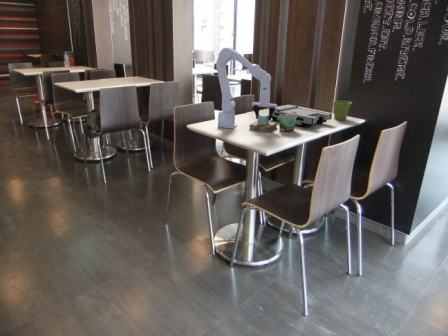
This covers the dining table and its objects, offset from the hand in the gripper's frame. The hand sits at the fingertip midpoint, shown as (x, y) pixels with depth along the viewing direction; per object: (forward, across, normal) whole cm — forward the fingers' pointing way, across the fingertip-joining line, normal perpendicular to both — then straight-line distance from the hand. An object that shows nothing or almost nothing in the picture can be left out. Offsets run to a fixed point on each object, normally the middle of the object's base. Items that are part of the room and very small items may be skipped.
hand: (263, 119), depth 196 cm
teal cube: (+2, 0, 0) cm, 2 cm away
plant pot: (+6, +35, +48) cm, 60 cm away
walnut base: (+5, 0, 0) cm, 5 cm away
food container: (+6, +15, +2) cm, 16 cm away
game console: (+6, +14, +26) cm, 30 cm away
